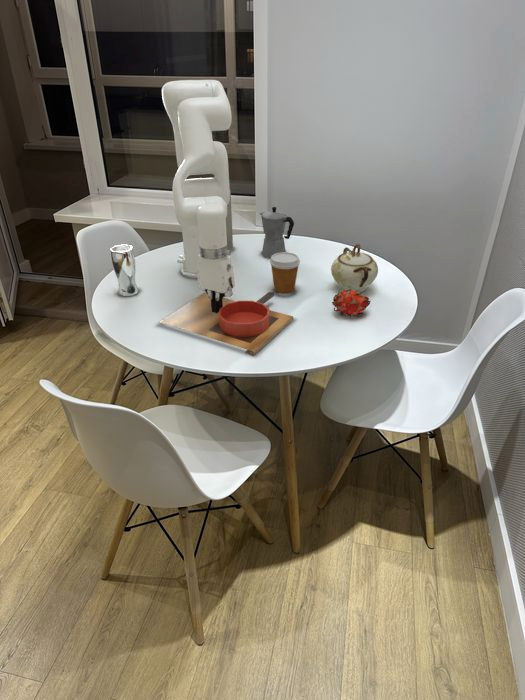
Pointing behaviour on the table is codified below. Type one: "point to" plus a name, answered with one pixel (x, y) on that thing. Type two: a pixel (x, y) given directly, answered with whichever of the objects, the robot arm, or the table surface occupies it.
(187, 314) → the board
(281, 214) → the coffeepot
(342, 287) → the sugar bowl
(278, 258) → the disposable coffee cup
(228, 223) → the thermos bottle
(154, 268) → the table surface
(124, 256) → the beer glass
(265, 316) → the skillet
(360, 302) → the dragon fruit
